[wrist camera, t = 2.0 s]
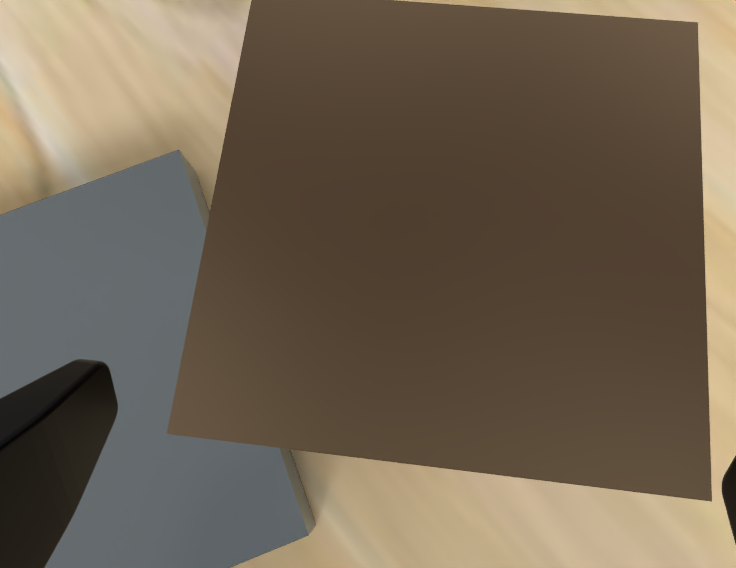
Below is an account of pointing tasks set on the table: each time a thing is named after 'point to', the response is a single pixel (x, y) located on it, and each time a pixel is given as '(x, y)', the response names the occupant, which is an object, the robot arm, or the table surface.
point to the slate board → (137, 373)
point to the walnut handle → (459, 245)
